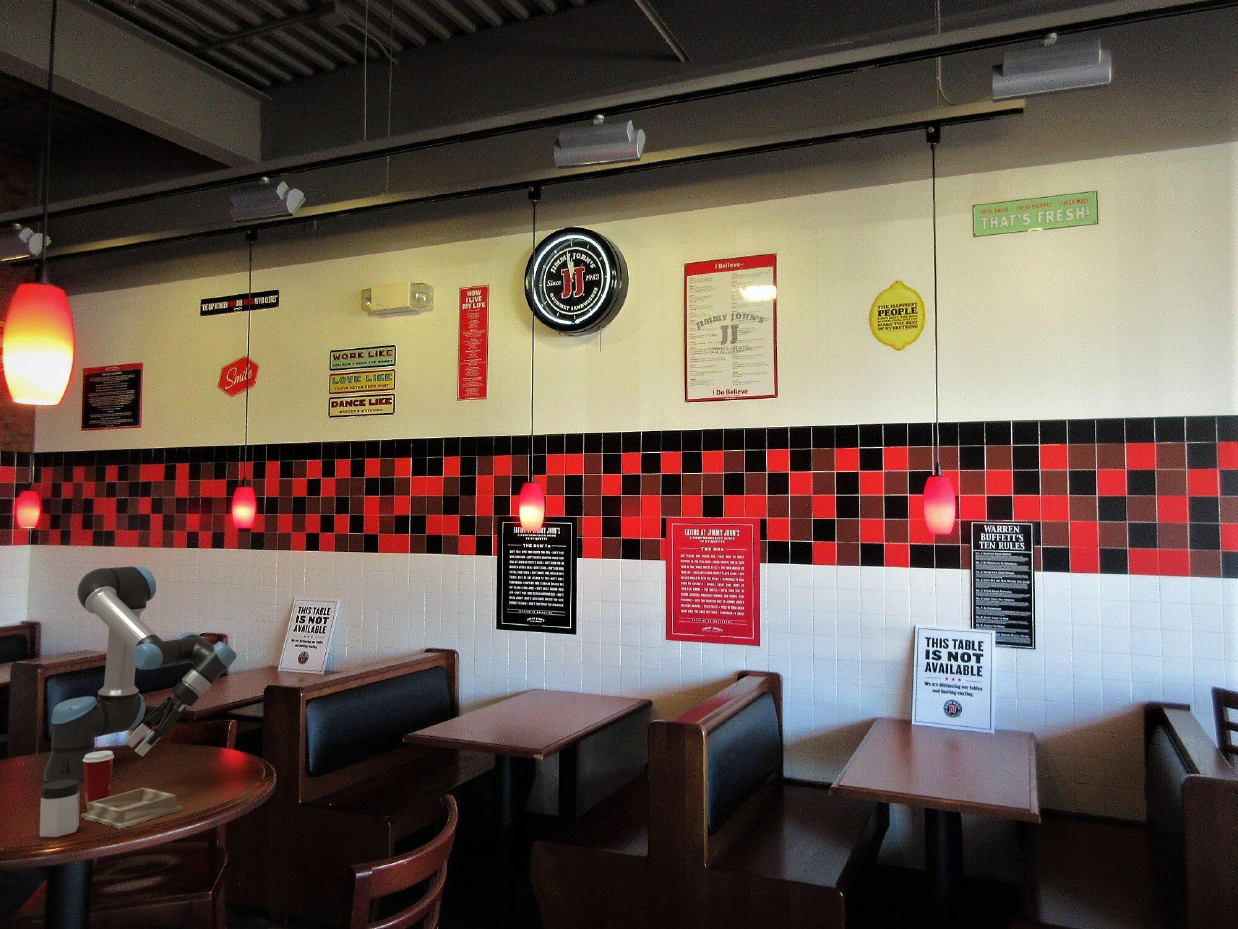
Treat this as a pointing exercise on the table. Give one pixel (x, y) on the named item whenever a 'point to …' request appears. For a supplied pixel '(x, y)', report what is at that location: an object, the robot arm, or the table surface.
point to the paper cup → (97, 775)
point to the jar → (59, 808)
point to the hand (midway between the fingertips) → (133, 749)
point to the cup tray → (131, 807)
